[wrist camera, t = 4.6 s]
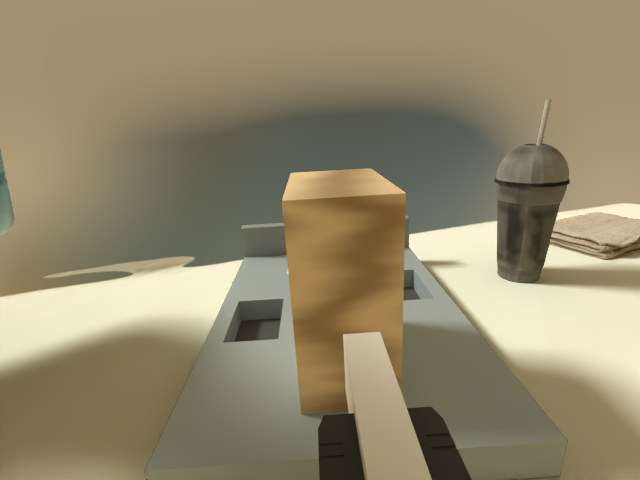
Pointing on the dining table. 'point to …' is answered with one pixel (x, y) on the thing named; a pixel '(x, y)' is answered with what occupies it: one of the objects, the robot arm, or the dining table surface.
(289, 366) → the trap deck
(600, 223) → the washcloth
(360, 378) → the robot arm
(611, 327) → the dining table surface
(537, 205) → the beverage cup
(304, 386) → the oak block
